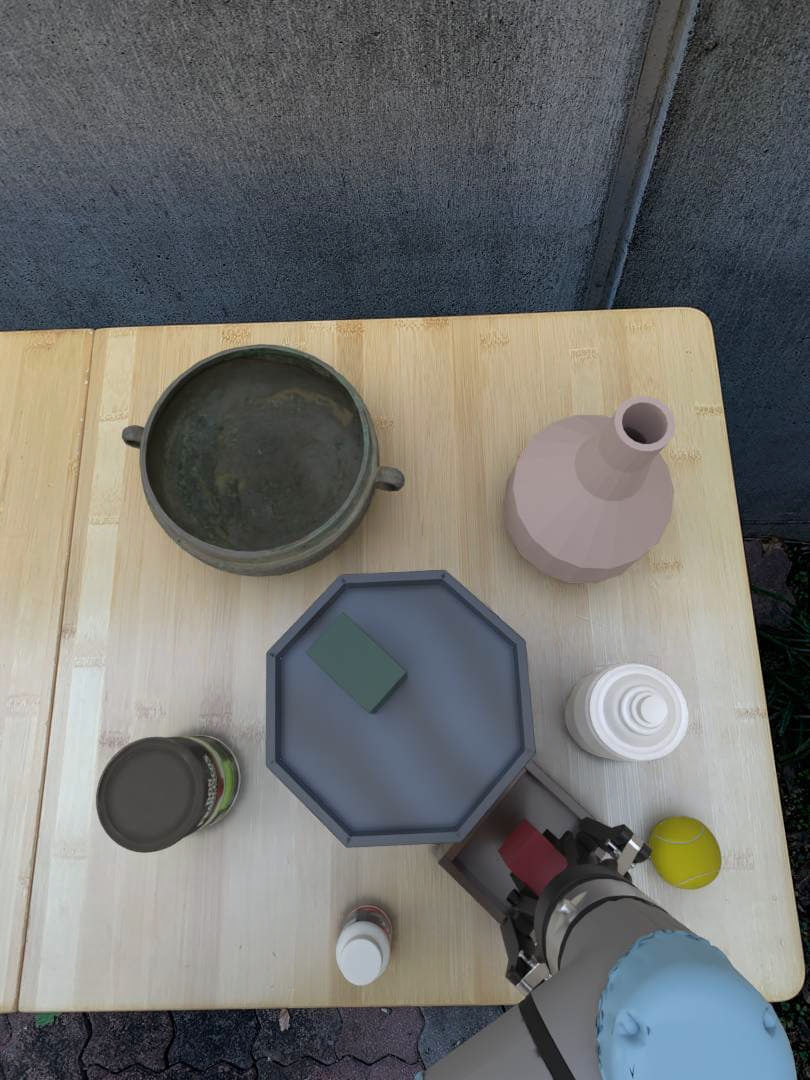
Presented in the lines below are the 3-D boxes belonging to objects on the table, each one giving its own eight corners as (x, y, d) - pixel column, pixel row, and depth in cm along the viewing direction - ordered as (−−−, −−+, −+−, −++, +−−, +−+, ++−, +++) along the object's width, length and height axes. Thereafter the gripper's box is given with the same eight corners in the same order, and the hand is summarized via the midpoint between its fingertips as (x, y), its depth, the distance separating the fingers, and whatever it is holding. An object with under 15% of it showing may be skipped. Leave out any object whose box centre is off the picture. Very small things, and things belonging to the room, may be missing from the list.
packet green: (374, 714, 55) (369, 713, 48) (318, 660, 56) (304, 652, 49) (408, 677, 56) (407, 671, 49) (351, 624, 57) (342, 611, 50)
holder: (518, 931, 73) (528, 952, 67) (435, 849, 75) (437, 862, 69) (599, 828, 76) (617, 839, 69) (516, 752, 78) (526, 755, 71)
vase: (633, 459, 87) (742, 329, 58) (641, 595, 82) (764, 529, 53) (495, 455, 87) (535, 325, 58) (496, 591, 83) (539, 524, 54)
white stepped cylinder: (571, 783, 77) (642, 813, 53) (527, 696, 79) (576, 686, 55) (660, 738, 78) (770, 747, 54) (614, 653, 81) (699, 625, 56)
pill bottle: (402, 925, 74) (400, 955, 64) (373, 970, 72) (366, 1008, 63) (362, 893, 74) (354, 918, 65) (332, 937, 73) (320, 969, 64)
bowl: (423, 417, 89) (424, 358, 74) (386, 613, 82) (380, 591, 68) (184, 379, 90) (140, 315, 76) (130, 568, 84) (71, 537, 70)
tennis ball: (631, 822, 76) (652, 833, 69) (689, 804, 76) (716, 812, 69) (654, 888, 74) (678, 906, 67) (714, 869, 74) (744, 885, 68)
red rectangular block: (549, 900, 64) (564, 922, 57) (497, 850, 65) (506, 866, 58) (576, 866, 64) (594, 884, 58) (524, 817, 66) (536, 829, 59)
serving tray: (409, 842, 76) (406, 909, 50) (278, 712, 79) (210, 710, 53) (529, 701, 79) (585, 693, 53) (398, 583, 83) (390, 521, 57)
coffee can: (244, 734, 79) (209, 737, 65) (237, 829, 76) (199, 854, 63) (156, 732, 79) (102, 736, 65) (146, 828, 76) (88, 852, 63)
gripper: (643, 788, 43) (566, 762, 65) (464, 1014, 40) (448, 905, 62) (742, 876, 41) (628, 818, 64) (564, 1118, 38) (511, 968, 61)
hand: (539, 861), depth 63 cm, fingers closed on red rectangular block, 4 cm apart
